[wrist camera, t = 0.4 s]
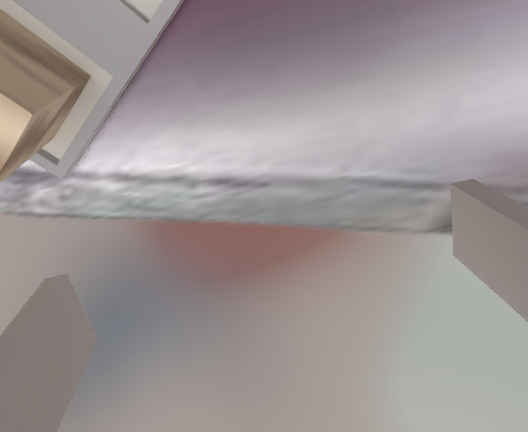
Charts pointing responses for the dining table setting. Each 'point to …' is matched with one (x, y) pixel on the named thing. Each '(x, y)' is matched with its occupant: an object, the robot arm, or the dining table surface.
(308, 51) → the dining table surface
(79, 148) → the tray
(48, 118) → the block
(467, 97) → the dining table surface
